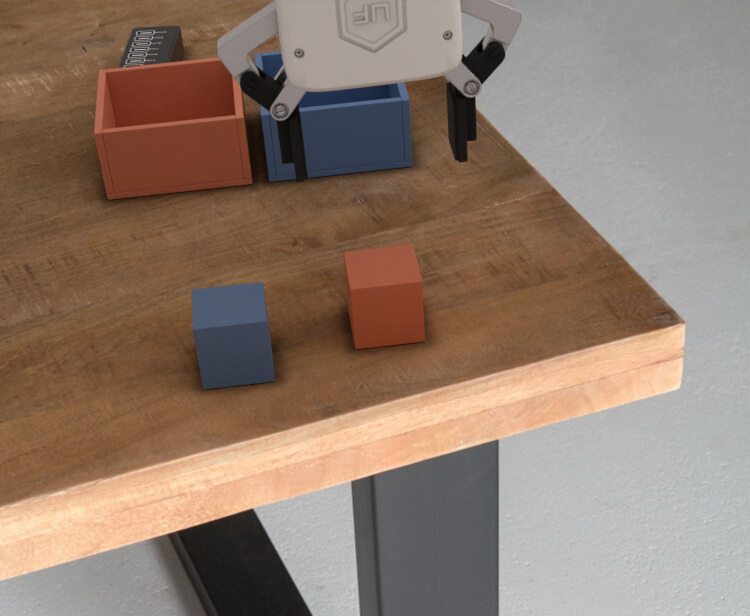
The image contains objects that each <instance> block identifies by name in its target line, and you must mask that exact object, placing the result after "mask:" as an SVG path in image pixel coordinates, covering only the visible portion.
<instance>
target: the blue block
mask: <svg viewBox="0 0 750 616" xmlns="http://www.w3.org/2000/svg"><path fill="white" fill-rule="evenodd" d="M265 293H266V292H265V284H264V281H256V282H248V283H247V282H246V283H238V284H237V283H236V284H229V285H220V286H213V287H212V286H211V287H202V288H195V289H194V288H193V289H191V314H192V315H191V317H192V322H191V323H192V334H193V339H194V345H195V349H196V355H197V361H198V366H199V368H198V369H199V373H200V378H201V384H202V389H203V391H204V390H212V389H213V390H214V389H222V388H231V387H239V386H248V385H257V384H264V383H274V382H276V376H275V367H274V366H275V365H274V357H273V347H272V337H271V331H270V324H269V316H268V307H267V300H266V294H265Z"/></svg>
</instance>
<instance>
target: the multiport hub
mask: <svg viewBox="0 0 750 616" xmlns="http://www.w3.org/2000/svg"><path fill="white" fill-rule="evenodd" d="M184 53H185V48H184V41H183V35H182V27H181V26H180V25H162V26H161V25H160V26H142V27H141V26H139V27H138V26H137V27H134V28H132V29H131V31H130V34H129V36H128V39H127V42H126V44H125V47H124V50H123V52H122V55H121V58H120V60H119V63H118V66H117V68H123V67H133V66H142V65H152V64H161V63H170V62H180V61H183V57H184V55H185V54H184Z"/></svg>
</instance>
